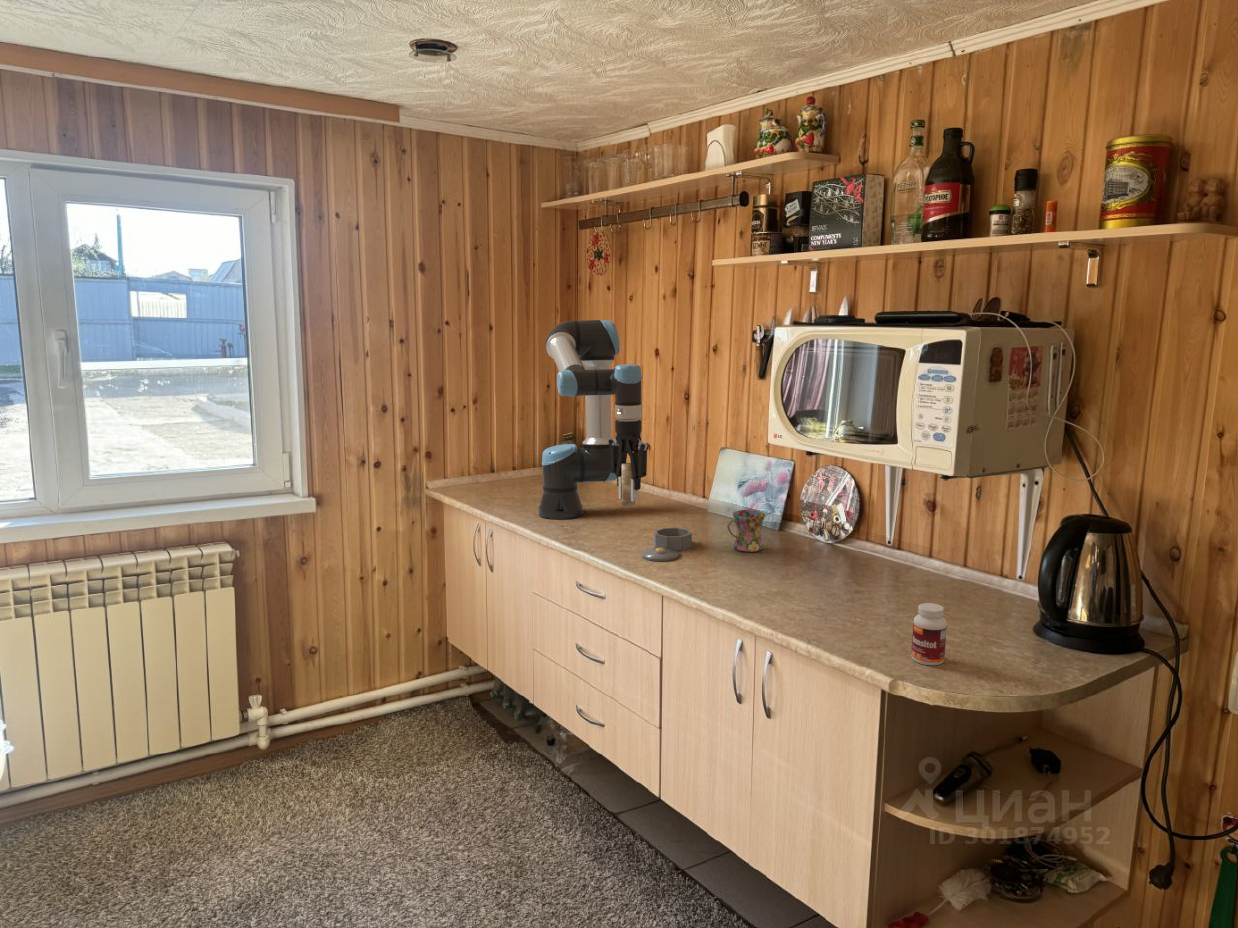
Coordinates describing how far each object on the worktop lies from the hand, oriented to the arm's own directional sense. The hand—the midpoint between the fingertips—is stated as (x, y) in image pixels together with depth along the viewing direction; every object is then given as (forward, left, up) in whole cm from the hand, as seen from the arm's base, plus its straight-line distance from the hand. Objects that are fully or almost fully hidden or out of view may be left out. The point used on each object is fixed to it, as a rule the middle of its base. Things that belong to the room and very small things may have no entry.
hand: (628, 499), depth 249 cm
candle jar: (+9, +9, -14) cm, 19 cm away
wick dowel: (0, 0, -2) cm, 2 cm away
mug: (+28, +18, -14) cm, 36 cm away
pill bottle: (+98, -25, -14) cm, 102 cm away
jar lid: (+13, -2, -14) cm, 20 cm away
